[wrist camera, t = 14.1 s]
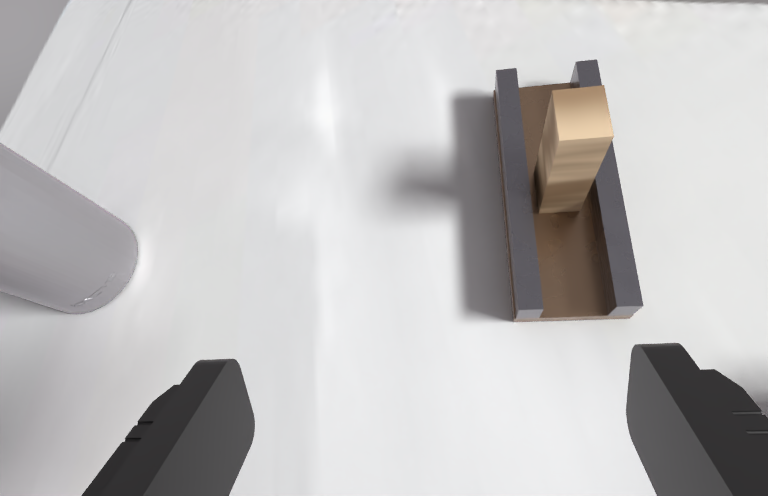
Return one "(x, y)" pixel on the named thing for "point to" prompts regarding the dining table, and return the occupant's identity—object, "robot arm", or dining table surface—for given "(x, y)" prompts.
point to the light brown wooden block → (571, 148)
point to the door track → (560, 219)
